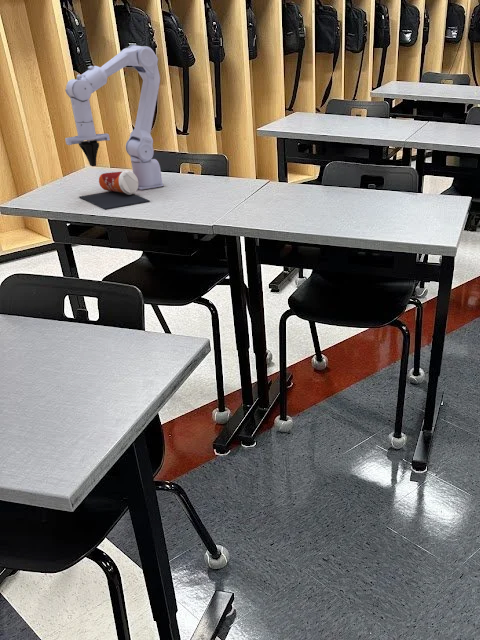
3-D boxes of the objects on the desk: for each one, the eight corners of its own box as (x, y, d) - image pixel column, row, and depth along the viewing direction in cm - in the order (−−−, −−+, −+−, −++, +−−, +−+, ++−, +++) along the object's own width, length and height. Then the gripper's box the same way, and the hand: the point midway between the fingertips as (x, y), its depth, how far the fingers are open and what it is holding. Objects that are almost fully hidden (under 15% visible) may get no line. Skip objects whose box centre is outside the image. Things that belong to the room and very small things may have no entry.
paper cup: (92, 181, 228) (117, 181, 220) (104, 165, 230) (129, 165, 222) (107, 198, 234) (132, 199, 227) (118, 182, 236) (143, 183, 229)
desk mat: (122, 190, 234) (122, 189, 234) (149, 201, 222) (149, 200, 222) (79, 197, 226) (79, 196, 225) (105, 209, 214) (105, 208, 213)
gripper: (99, 117, 222) (107, 161, 230) (57, 121, 214) (67, 166, 222) (109, 120, 218) (116, 164, 226) (66, 124, 210) (76, 170, 218)
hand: (93, 165), depth 224 cm, fingers closed
